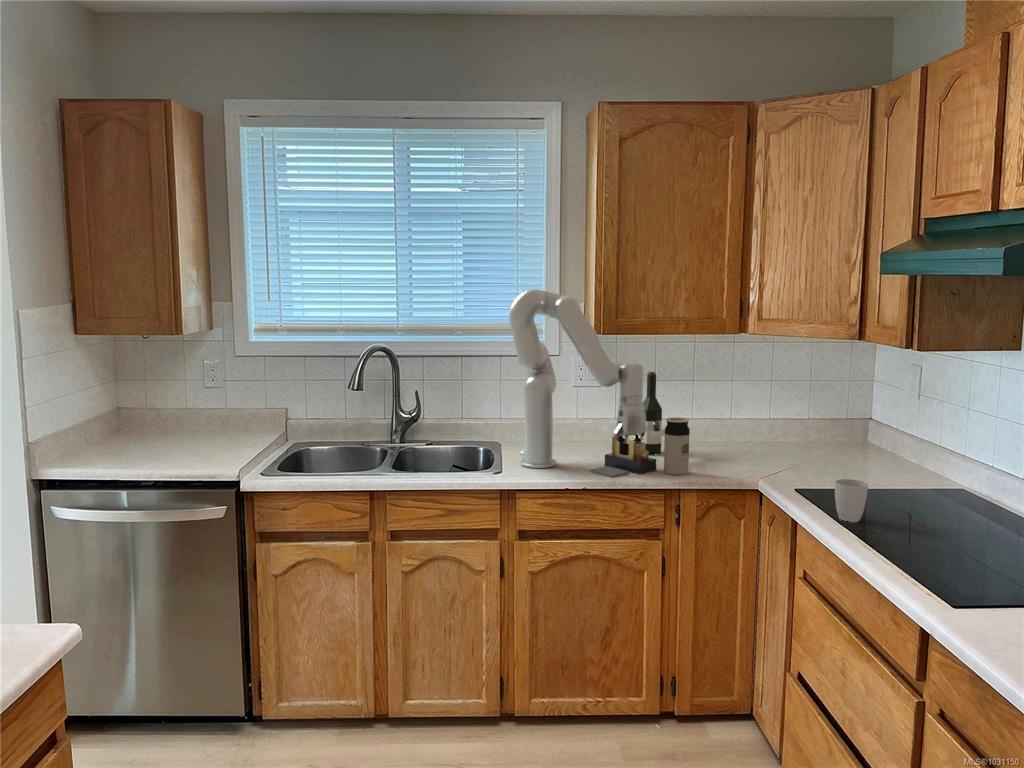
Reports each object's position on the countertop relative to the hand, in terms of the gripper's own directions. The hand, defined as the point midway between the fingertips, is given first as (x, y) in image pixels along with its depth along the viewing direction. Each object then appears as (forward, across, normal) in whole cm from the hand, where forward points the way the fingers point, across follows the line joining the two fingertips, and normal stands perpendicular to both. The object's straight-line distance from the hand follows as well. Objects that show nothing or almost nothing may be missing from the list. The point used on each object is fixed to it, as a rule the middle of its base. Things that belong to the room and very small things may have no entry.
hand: (630, 452), depth 271 cm
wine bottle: (+6, +24, +12) cm, 27 cm away
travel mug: (+6, +7, -14) cm, 17 cm away
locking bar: (-4, +20, 0) cm, 20 cm away
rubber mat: (+5, -10, 0) cm, 11 cm away
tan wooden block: (+1, 0, 0) cm, 1 cm away
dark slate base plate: (+5, 0, 0) cm, 5 cm away
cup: (+6, +1, -77) cm, 77 cm away
